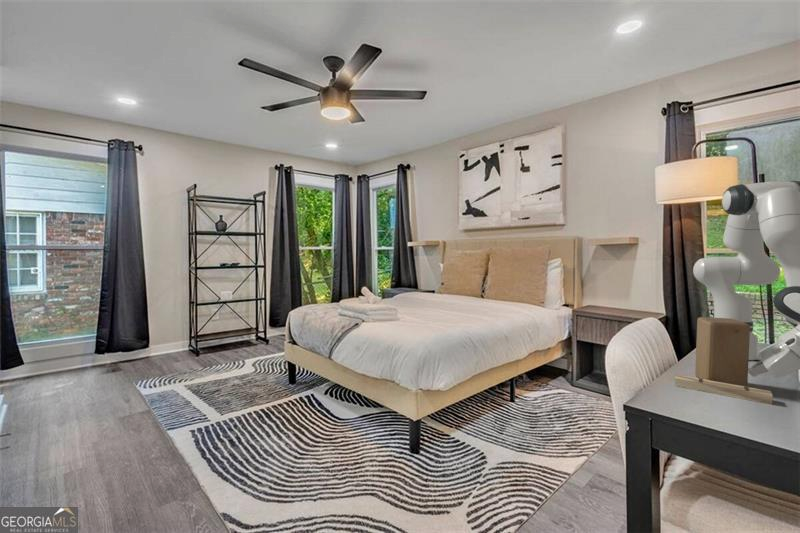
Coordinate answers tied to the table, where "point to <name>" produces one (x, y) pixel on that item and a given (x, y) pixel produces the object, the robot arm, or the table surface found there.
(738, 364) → the wooden block
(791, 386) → the table surface
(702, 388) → the maple board
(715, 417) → the table surface
